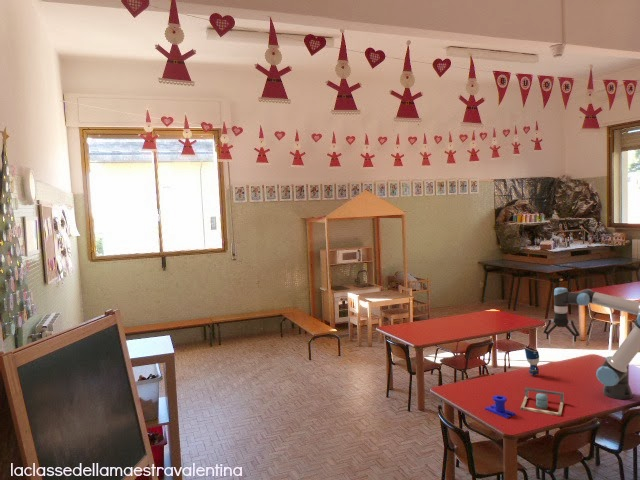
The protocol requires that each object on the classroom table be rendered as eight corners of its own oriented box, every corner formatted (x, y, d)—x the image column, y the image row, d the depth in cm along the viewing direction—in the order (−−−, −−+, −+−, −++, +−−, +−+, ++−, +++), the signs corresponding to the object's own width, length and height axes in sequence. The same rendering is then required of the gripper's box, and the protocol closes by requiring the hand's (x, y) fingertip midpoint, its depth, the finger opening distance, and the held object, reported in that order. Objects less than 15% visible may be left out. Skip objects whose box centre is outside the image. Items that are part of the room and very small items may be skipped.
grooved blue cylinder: (548, 405, 279) (548, 394, 279) (547, 409, 274) (547, 398, 273) (536, 404, 283) (536, 392, 282) (535, 408, 277) (535, 396, 277)
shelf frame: (563, 403, 282) (563, 401, 282) (560, 416, 265) (560, 414, 265) (525, 397, 293) (525, 395, 293) (520, 409, 276) (520, 407, 276)
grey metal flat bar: (563, 403, 282) (563, 392, 282) (563, 404, 281) (563, 393, 280) (525, 397, 293) (525, 387, 293) (525, 398, 292) (524, 388, 291)
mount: (485, 409, 278) (484, 395, 277) (493, 406, 282) (493, 392, 281) (506, 418, 265) (506, 403, 265) (515, 415, 269) (515, 400, 268)
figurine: (541, 378, 322) (541, 350, 321) (527, 378, 324) (526, 349, 323) (537, 372, 335) (536, 344, 334) (523, 372, 337) (522, 344, 336)
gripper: (583, 312, 296) (584, 345, 297) (540, 309, 309) (540, 341, 310) (583, 315, 290) (583, 349, 291) (538, 312, 303) (539, 344, 304)
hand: (561, 345), depth 300 cm, fingers open, 13 cm apart
